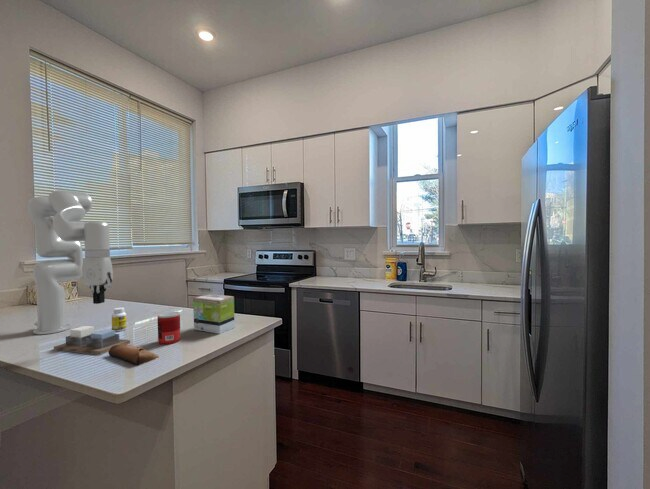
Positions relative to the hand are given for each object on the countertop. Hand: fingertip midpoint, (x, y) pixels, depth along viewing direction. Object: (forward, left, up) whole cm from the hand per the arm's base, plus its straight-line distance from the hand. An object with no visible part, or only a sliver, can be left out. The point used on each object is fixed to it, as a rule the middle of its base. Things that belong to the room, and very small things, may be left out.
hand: (99, 302), depth 114 cm
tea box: (+30, +29, -17) cm, 45 cm away
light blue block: (+2, 0, -14) cm, 14 cm away
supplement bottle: (-12, +19, -17) cm, 28 cm away
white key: (-8, 0, -14) cm, 16 cm away
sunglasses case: (+21, -5, -18) cm, 28 cm away
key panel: (-3, 0, -17) cm, 17 cm away
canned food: (+22, +11, -17) cm, 30 cm away
